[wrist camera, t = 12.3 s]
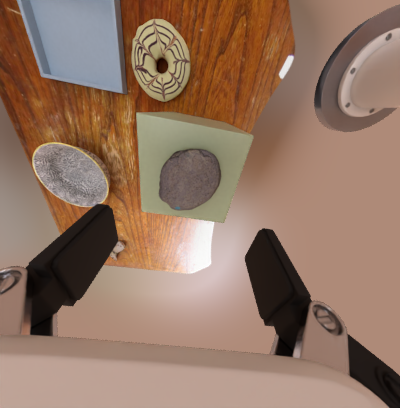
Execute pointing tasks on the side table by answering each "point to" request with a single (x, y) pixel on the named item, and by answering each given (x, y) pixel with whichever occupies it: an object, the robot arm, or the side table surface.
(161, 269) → the side table surface
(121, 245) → the butterfly
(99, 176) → the bowl
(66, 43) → the tray
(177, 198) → the stone
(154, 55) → the decorated donut
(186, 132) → the stand
